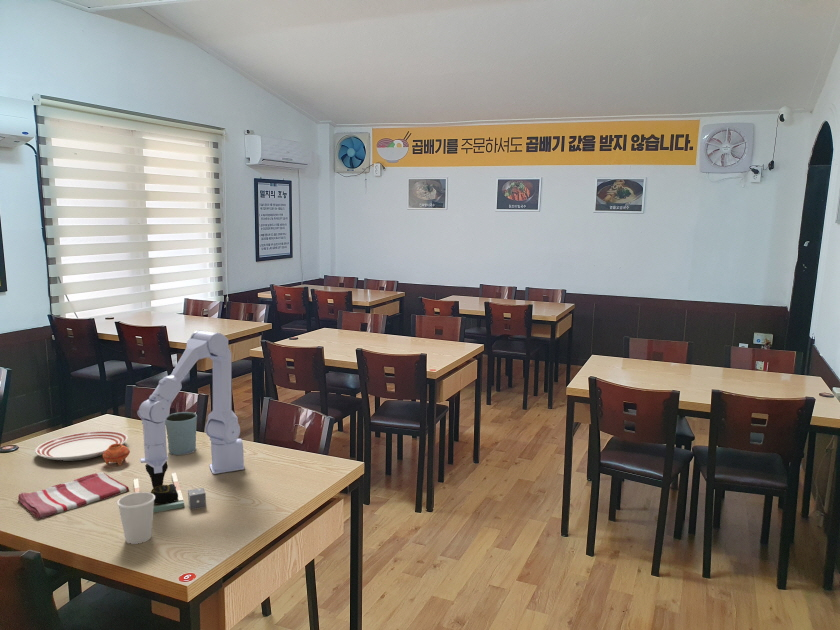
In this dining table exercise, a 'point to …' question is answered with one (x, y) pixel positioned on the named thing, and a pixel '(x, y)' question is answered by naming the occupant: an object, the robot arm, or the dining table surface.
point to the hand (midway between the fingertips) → (157, 488)
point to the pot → (116, 453)
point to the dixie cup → (137, 516)
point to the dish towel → (71, 494)
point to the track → (166, 506)
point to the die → (197, 498)
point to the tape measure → (165, 494)
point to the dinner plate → (80, 445)
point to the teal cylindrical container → (181, 432)
